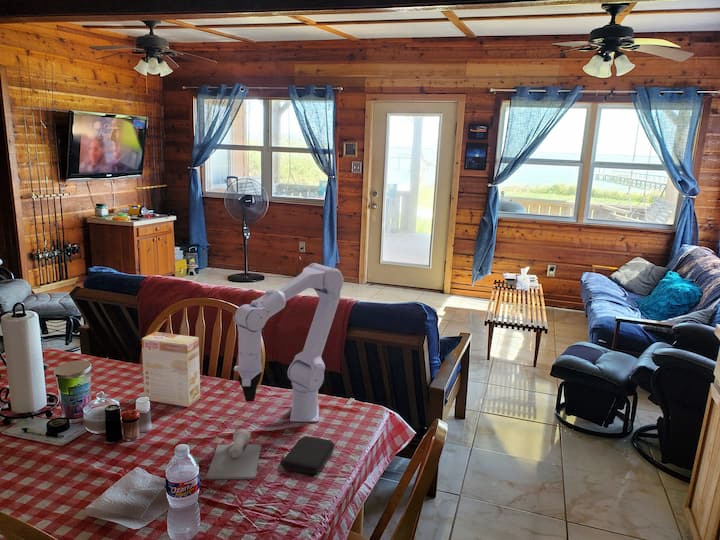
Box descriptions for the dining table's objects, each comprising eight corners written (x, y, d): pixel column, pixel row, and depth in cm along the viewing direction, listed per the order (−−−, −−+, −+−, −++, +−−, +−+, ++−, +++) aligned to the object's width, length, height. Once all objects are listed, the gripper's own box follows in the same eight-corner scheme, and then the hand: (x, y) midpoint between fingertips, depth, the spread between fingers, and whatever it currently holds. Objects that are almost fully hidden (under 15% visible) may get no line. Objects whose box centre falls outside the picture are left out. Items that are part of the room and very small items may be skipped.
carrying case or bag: (298, 442, 143) (274, 472, 129) (298, 431, 143) (274, 460, 129) (336, 449, 141) (316, 481, 127) (336, 438, 140) (317, 469, 126)
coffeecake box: (201, 397, 165) (199, 336, 161) (188, 407, 159) (186, 344, 154) (157, 390, 169) (155, 330, 165) (143, 400, 162) (140, 338, 158)
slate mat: (217, 446, 139) (217, 444, 139) (261, 446, 140) (261, 444, 139) (206, 479, 125) (206, 476, 125) (254, 479, 126) (254, 476, 126)
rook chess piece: (245, 445, 140) (238, 465, 133) (230, 436, 140) (222, 456, 132) (254, 433, 139) (247, 452, 131) (239, 424, 138) (231, 443, 131)
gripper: (238, 341, 146) (238, 388, 149) (229, 361, 132) (229, 413, 135) (265, 341, 146) (264, 388, 149) (258, 362, 132) (258, 413, 135)
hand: (250, 400), depth 142 cm, fingers closed
